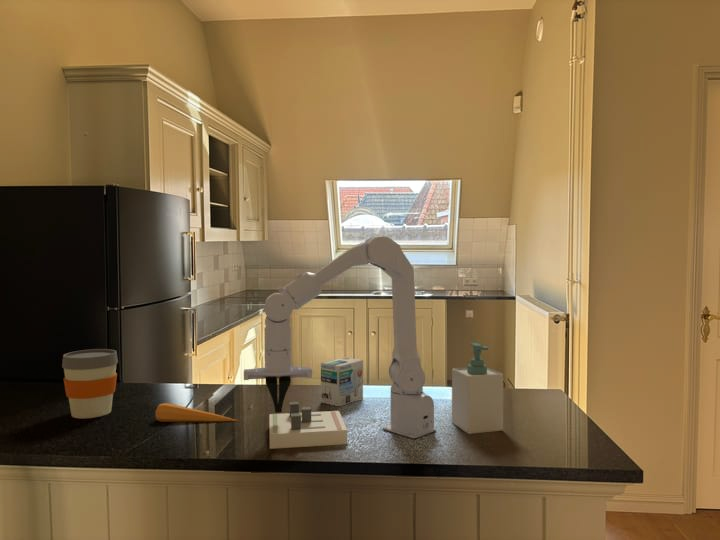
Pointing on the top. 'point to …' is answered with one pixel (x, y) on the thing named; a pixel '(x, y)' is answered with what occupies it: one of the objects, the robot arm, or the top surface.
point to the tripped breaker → (306, 414)
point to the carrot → (185, 414)
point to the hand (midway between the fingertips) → (278, 411)
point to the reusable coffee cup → (90, 381)
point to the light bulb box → (341, 381)
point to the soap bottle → (477, 396)
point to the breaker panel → (306, 429)
